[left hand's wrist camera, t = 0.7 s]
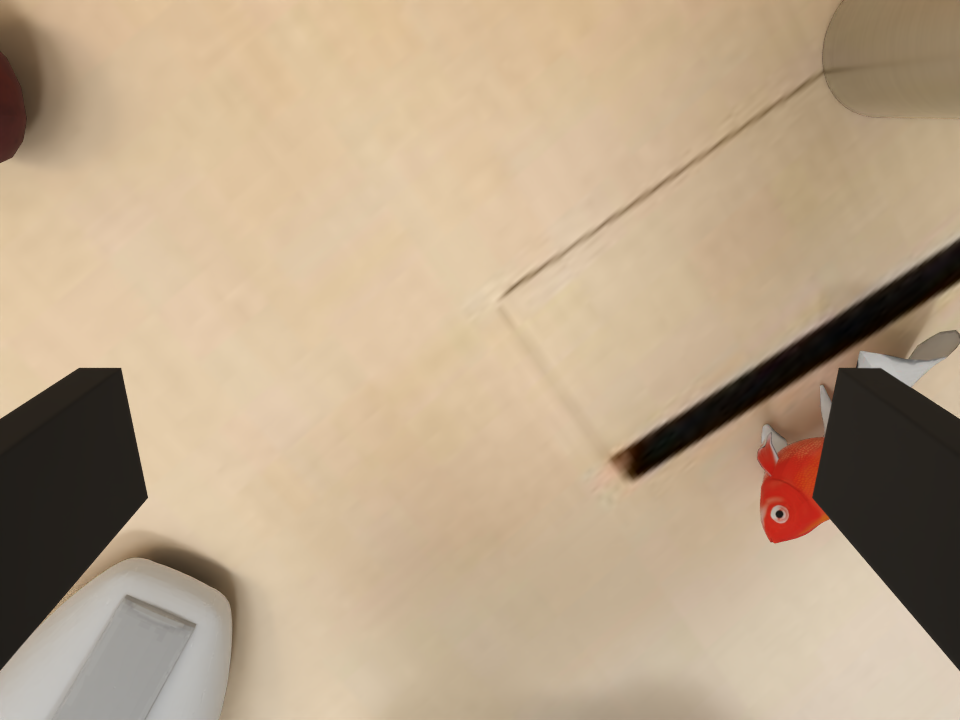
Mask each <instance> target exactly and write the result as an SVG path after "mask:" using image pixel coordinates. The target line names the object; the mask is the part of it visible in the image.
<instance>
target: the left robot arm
mask: <svg viewBox="0 0 960 720" xmlns="http://www.w3.org/2000/svg"><path fill="white" fill-rule="evenodd" d="M147 498H148V496H147V491H146V486H145V481H144V476H143V471H142V467H141V462H140V457H139V452H138V447H137V443H136V438H135V433H134V428H133V423H132V418H131V414H130V409H129V404H128V399H127V394H126V389H125V385H124V380H123V375H122V370H121V368H78V369H77V370H75V371H74V372H72V373H71V374H69V375H68V376H66V377H64V378H63V379H61V380H60V381H58V382H57V383H55V384H54V385H52V386H51V387H49V388H47V389H46V390H44V391H43V392H41V393H40V394H38V395H37V396H35V397H34V398H32V399H30V400H29V401H27V402H26V403H24V404H23V405H21V406H20V407H18V408H17V409H15V410H13V411H12V412H10V413H9V414H7V415H6V416H4V417H3V418H1V419H0V671H1V669H2V668H3V667H4V666H5V665H6V664H7V662H8V661H9V660H10V659H11V658H12V657H13V655H14V654H15V653H16V652H17V651H18V649H19V648H20V647H21V646H22V645H23V644H24V642H25V641H26V640H27V639H28V638H29V637H30V635H31V634H32V633H33V632H34V631H35V630H36V628H37V627H38V626H39V625H40V624H41V623H42V621H43V620H44V619H45V618H46V617H47V615H48V614H49V613H50V612H51V611H52V610H53V608H54V607H55V606H56V605H57V604H58V603H59V601H60V600H61V599H62V598H63V597H64V596H65V594H66V593H67V592H68V591H69V590H70V589H71V587H72V586H73V585H74V584H75V583H76V582H77V580H78V579H79V578H80V577H81V576H82V574H83V573H84V572H85V571H86V570H87V569H88V567H89V566H90V565H91V564H92V563H93V562H94V560H95V559H96V558H97V557H98V556H99V555H100V553H101V552H102V551H103V550H104V549H105V548H106V546H107V545H108V544H109V543H110V542H111V540H112V539H113V538H114V537H115V536H116V535H117V533H118V532H119V531H120V530H121V529H122V528H123V526H124V525H125V524H126V523H127V522H128V521H129V519H130V518H131V517H132V516H133V515H134V514H135V512H136V511H137V510H138V509H139V508H140V507H141V505H142V504H143V503H144V502H145V501H146V499H147ZM812 498H813V499H814V501H815V502H816V503H817V504H818V505H819V507H820V508H821V509H822V510H823V511H824V512H825V514H826V515H827V516H828V517H829V518H830V519H831V521H832V522H833V523H834V524H835V525H836V526H837V528H838V529H839V530H840V531H841V532H842V533H843V535H844V536H845V537H846V538H847V539H848V540H849V542H850V543H851V544H852V545H853V546H854V548H855V549H856V550H857V551H858V552H859V553H860V555H861V556H862V557H863V558H864V559H865V560H866V562H867V563H868V564H869V565H870V566H871V567H872V569H873V570H874V571H875V572H876V573H877V574H878V576H879V577H880V578H881V579H882V580H883V582H884V583H885V584H886V585H887V586H888V587H889V589H890V590H891V591H892V592H893V593H894V594H895V596H896V597H897V598H898V599H899V600H900V601H901V603H902V604H903V605H904V606H905V607H906V608H907V610H908V611H909V612H910V613H911V614H912V615H913V617H914V618H915V619H916V620H917V621H918V623H919V624H920V625H921V626H922V627H923V628H924V630H925V631H926V632H927V633H928V634H929V635H930V637H931V638H932V639H933V640H934V641H935V642H936V644H937V645H938V646H939V647H940V648H941V649H942V651H943V652H944V653H945V654H946V655H947V657H948V658H949V659H950V660H951V661H952V662H953V664H954V665H955V666H956V667H957V668H958V669H959V671H960V419H959V418H957V417H956V416H954V415H953V414H951V413H950V412H948V411H947V410H945V409H943V408H942V407H940V406H939V405H937V404H936V403H934V402H933V401H931V400H930V399H928V398H926V397H925V396H923V395H922V394H920V393H919V392H917V391H916V390H914V389H913V388H911V387H909V386H908V385H906V384H905V383H903V382H902V381H900V380H899V379H897V378H896V377H894V376H892V375H891V374H889V373H888V372H886V371H885V370H883V369H882V368H839V370H838V375H837V380H836V385H835V389H834V394H833V399H832V404H831V409H830V414H829V418H828V423H827V428H826V433H825V438H824V443H823V447H822V452H821V457H820V462H819V467H818V471H817V476H816V481H815V486H814V491H813V496H812Z"/></svg>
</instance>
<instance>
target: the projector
mask: <svg viewBox="0 0 960 720" xmlns="http://www.w3.org/2000/svg"><path fill="white" fill-rule="evenodd" d="M231 647H232V615H231V608H230V605H229V602H228V600H227V599H226V597H225V596H224V595H223V594H222V593H221V592H219V591H218V590H216V589H215V588H212V587H210V586H208V585H206V584H205V583H203V582H201V581H199V580H197V579H195V578H193V577H191V576H189V575H186V574H184V573H182V572H180V571H177V570H175V569H172V568H170V567H167V566H165V565H162V564H159V563H156V562H153V561H151V560H149V559H144V558H129V559H126V560H123V561H121V562H119V563H117V564H115V565H114V566H112V567H110V568H109V569H107V570H106V571H104V572H103V573H101V574H100V575H98V576H97V577H95V578H94V579H93V580H91V581H90V582H89V583H87V584H86V585H85V586H84V587H82V588H81V589H80V590H78V591H77V592H76V593H75V594H73V595H72V596H71V597H70V598H69V599H68V600H66V601H65V602H64V603H63V604H62V605H61V606H60V607H59V608H58V609H56V610H55V611H54V612H53V613H52V614H51V615H50V616H49V617H48V618H47V619H46V620H45V621H44V622H43V623H42V624H41V625H40V626H39V627H38V628H37V629H36V630H35V631H34V632H33V633H32V634H31V635H30V637H29V638H28V639H27V640H26V641H25V642H24V644H23V645H22V646H21V647H20V648H19V649H18V651H17V652H16V653H15V654H14V655H13V657H12V658H11V659H10V660H9V661H8V662H7V664H6V665H5V666H4V667H3V669H2V670H1V671H0V720H219V718H220V715H221V711H222V707H223V702H224V698H225V693H226V688H227V682H228V675H229V667H230V659H231Z"/></svg>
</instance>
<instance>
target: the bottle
mask: <svg viewBox="0 0 960 720" xmlns="http://www.w3.org/2000/svg"><path fill="white" fill-rule="evenodd" d="M823 69H824V74H825V78H826V81H827V83H828V86H829V88H830V90H831V92H832V93H833V95H834V96H835V97H836V99H837V100H838V101H839V102H840V103H841V104H842V105H844V106H845V107H846V108H848V109H849V110H851V111H853V112H855V113H857V114H860V115H864V116H868V117H884V118H930V119H960V0H843V2H842V3H841V4H840V6H839V7H838V9H837V11H836V12H835V14H834V16H833V18H832V20H831V22H830V24H829V27H828V30H827V33H826V37H825V41H824V47H823Z"/></svg>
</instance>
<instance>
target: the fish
mask: <svg viewBox="0 0 960 720" xmlns="http://www.w3.org/2000/svg"><path fill="white" fill-rule="evenodd" d="M959 343H960V334H959V333H958V332H957V331H956V330H952V331H945V332H939V333H938V334H936V335H934V336H932V337H930V338H929V339H927V340H926V341H924V342H923V343H921V344H920V345H918V346H917V347H916V349H915V350H914V352H913V353H912V355H911V356H910V357H909V359H902V358H898V357H893V356H889V355H884V354H878V353H871V352H865V351H860V353H859V357H858V361H857V366H856V368H882V369H883V370H885V371H886V372H888V373H889V374H891V375H892V376H894V377H896V378H897V379H899V380H900V381H902V382H903V383H905V384H906V385H908V386H909V387H912V386H913V385H914V384H915V383H916V382H917V381H918V380H919V379H920V378H921V377H922V376H923V375H924V374H925V373H926V372H927V371H928V370H929V369H931V368H932V367H933V366H934V365H936V364H937V363H939V362H940V361H942V360H944V359H945V358H946V357H948V356H949V355H950V354H951V353H952V352H953V351H954V350H955V349H956V348H957V346H958V345H959ZM820 401H821V413H822V418H823V423H824V436H823V437H816V438H809V439H804V440H801V441H797V442H794V443H792V444H790V445H787V441H786V440H785V439H784V438H783V437H782V436H780V435H779V434H778V433H777V432H775V431H774V430H773V428H772V427H771V426H770V425H768V424H766V425H764V426H763V428H762V440H761V442H762V445H761V447H760V449H759V450H758V457H757V459H758V461H759V463H760V465H761V466H762V468H763V469H764V470H765V474H764V478H763V483H762V486H761V499H760V516H761V522H762V525H763V528H764V531H765V533H766V535H767V537H768V539H769V540H770V542H773V543H779V542H783V541H787V540H791V539H795V538H798V537H801V536H803V535H806V534H807V533H809V532H810V531H812V530H813V529H814V528H816V527H817V526H818V525H820V524H821V523H823V522H825V521H827V520H829V519H830V518H829V517H828V516H827V515H826V514H825V512H824V511H823V510H822V509H821V508H820V507H819V505H818V504H817V503H816V502H815V501H814V499H813V498H812V496H813V491H814V486H815V481H816V476H817V471H818V467H819V462H820V457H821V452H822V447H823V443H824V438H825V433H826V428H827V423H828V418H829V414H830V409H831V404H832V402H831V400H830V398H829V396H828V394H827V392H826V390H825V388H824V386H823V385H820Z"/></svg>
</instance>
